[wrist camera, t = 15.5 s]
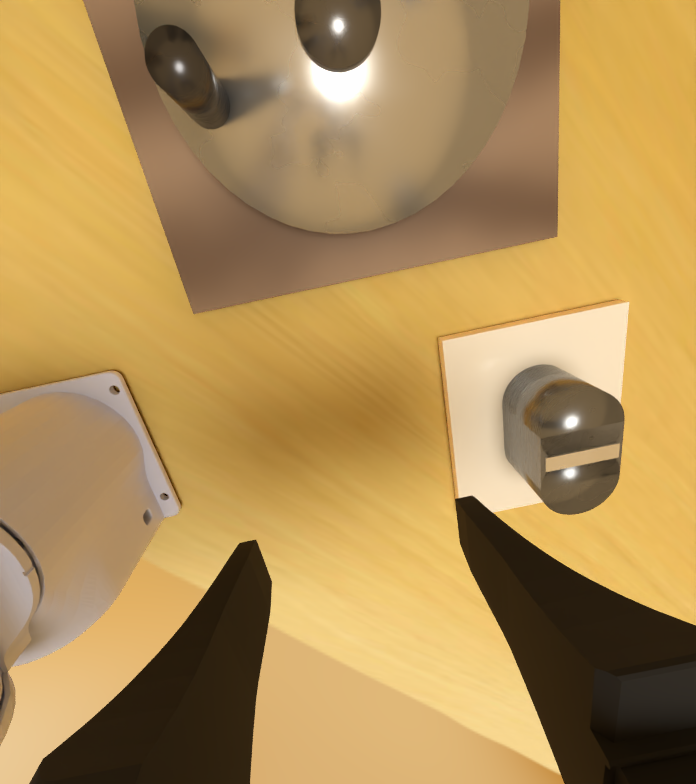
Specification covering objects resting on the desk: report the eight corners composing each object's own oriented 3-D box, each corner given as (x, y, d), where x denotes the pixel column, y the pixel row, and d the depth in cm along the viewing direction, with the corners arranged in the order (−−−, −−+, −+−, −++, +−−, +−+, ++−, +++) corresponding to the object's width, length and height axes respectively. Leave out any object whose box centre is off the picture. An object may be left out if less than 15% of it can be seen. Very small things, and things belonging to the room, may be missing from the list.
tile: (604, 480, 25) (613, 487, 24) (456, 510, 25) (461, 518, 24) (617, 299, 20) (629, 301, 20) (437, 337, 20) (442, 341, 20)
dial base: (545, 237, 19) (564, 236, 17) (199, 310, 19) (189, 316, 18) (546, -346, 12) (577, -427, 11) (15, -223, 12) (-26, -287, 11)
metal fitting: (569, 464, 23) (618, 507, 19) (505, 477, 23) (542, 522, 19) (572, 357, 20) (629, 382, 17) (500, 372, 20) (541, 401, 17)
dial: (588, -26, 14) (706, -146, 10) (382, 293, 18) (402, 308, 14) (258, -390, 11) (214, -825, 6) (91, 99, 15) (-7, 37, 10)
